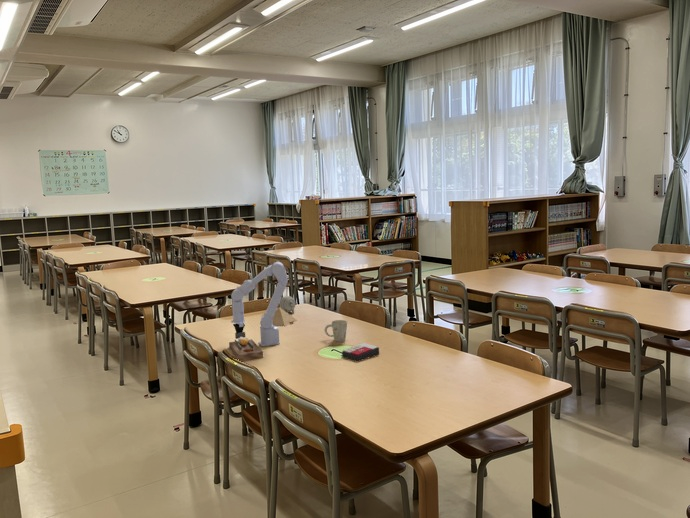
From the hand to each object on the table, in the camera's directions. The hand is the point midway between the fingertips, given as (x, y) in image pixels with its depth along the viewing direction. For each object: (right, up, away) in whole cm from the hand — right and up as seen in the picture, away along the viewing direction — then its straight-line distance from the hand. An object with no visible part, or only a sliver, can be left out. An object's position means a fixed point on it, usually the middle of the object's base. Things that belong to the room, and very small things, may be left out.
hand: (239, 337), depth 286 cm
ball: (+4, -1, -11) cm, 12 cm away
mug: (+51, -3, +6) cm, 51 cm away
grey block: (+2, -2, -5) cm, 6 cm away
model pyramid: (+16, +2, +47) cm, 50 cm away
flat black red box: (+63, -6, -22) cm, 67 cm away
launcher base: (+5, -6, -12) cm, 15 cm away
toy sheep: (+18, +5, +73) cm, 75 cm away
